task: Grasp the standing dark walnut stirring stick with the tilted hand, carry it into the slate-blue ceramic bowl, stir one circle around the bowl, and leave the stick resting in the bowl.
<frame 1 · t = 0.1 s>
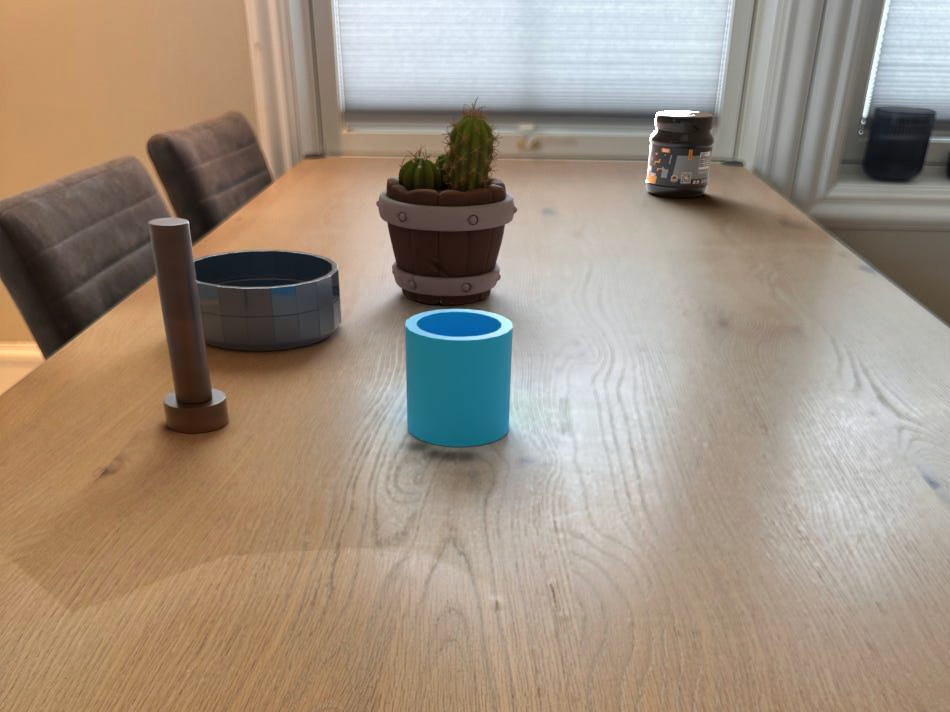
flowerpot: (446, 296, 111), on the table
stick: (198, 421, 78), on the table
bowl: (265, 329, 98), on the table
supplement container: (675, 194, 167), on the table
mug: (455, 420, 80), on the table
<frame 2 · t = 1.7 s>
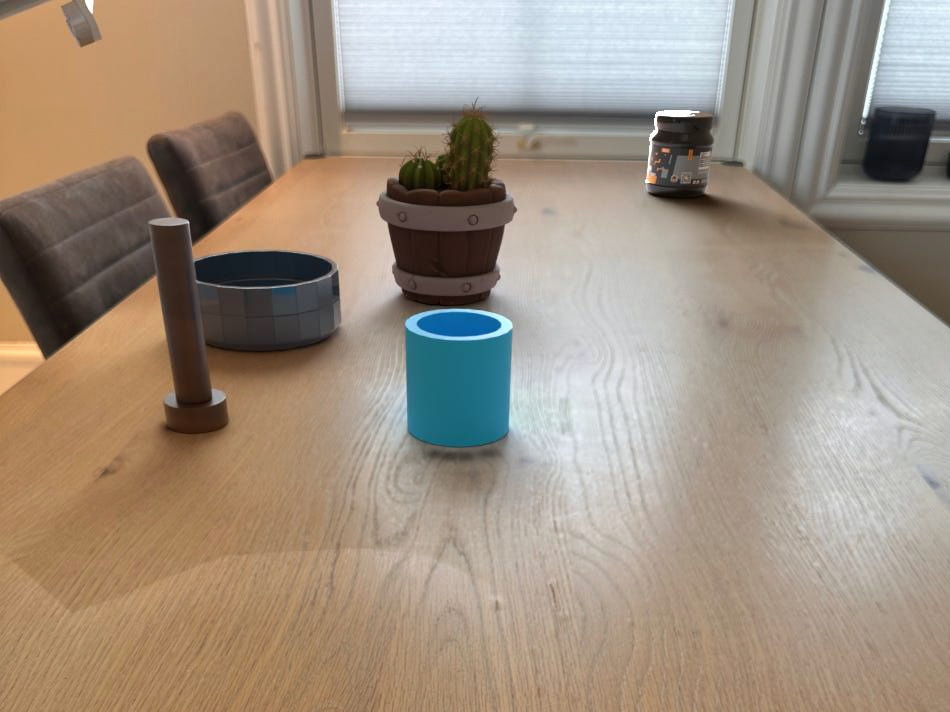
hand: (18, 64, 60), 25 cm above the table, tool tilted 50°, fingers open, 8 cm apart
nothing on the table moved.
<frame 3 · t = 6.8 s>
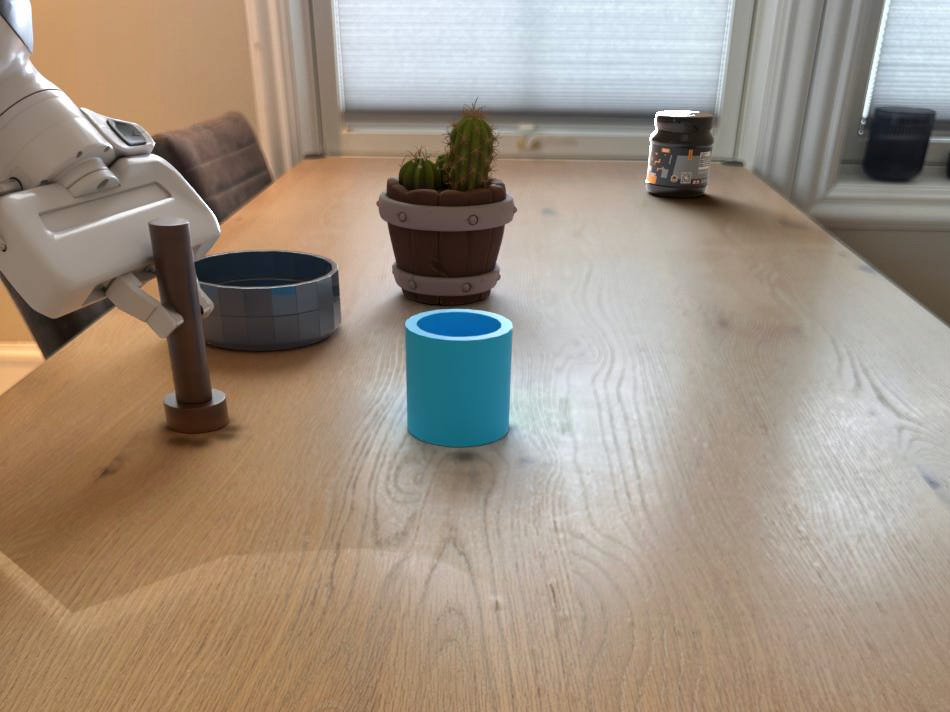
hand: (190, 323, 73), 8 cm above the table, tool tilted 45°, fingers closed on stick, 3 cm apart
stick: (198, 421, 78), on the table, touching gripper
everything else where it was.
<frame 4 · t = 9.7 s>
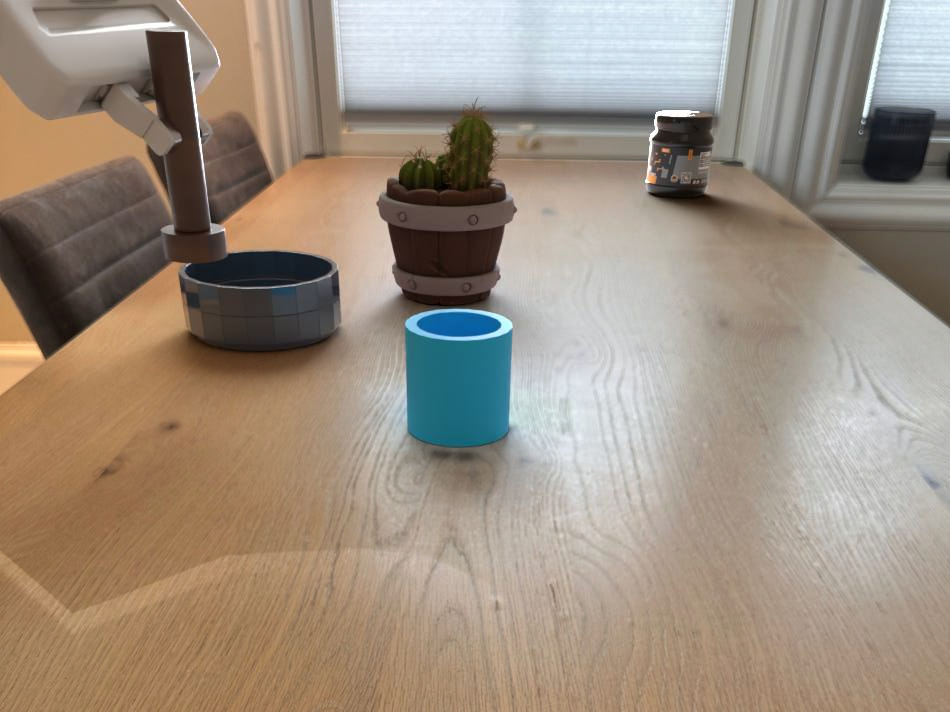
hand: (188, 144, 72), 19 cm above the table, tool tilted 45°, fingers closed on stick, 3 cm apart
stick: (196, 255, 76), point 11 cm above the table, touching gripper
everything else where it was.
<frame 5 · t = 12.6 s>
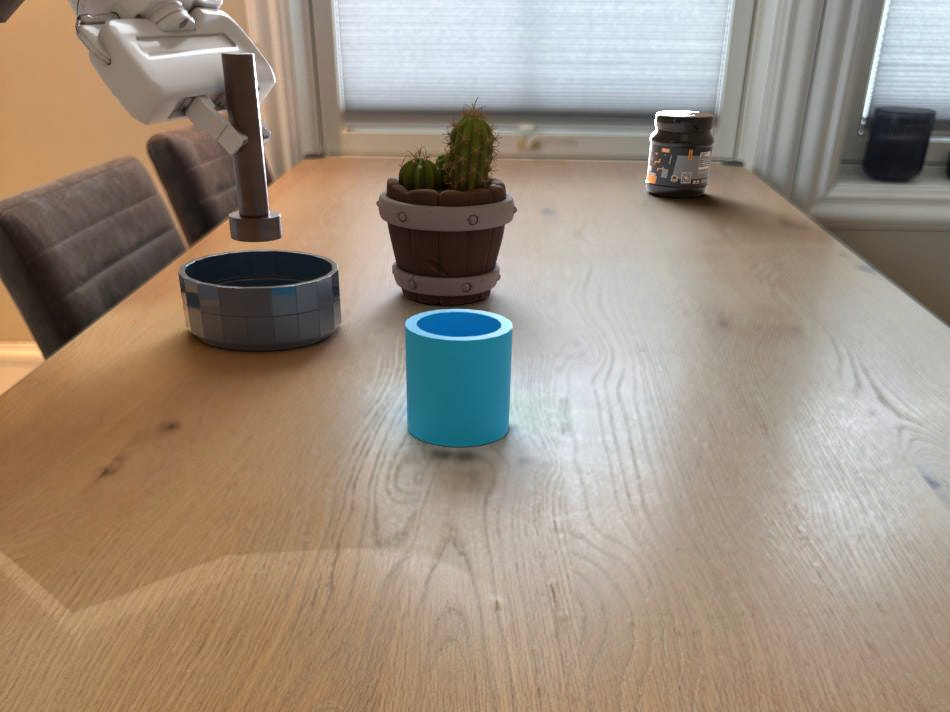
hand: (253, 145, 88), 17 cm above the table, tool tilted 45°, fingers closed on stick, 3 cm apart
stick: (256, 237, 93), point 9 cm above the table, touching gripper
everything else where it was.
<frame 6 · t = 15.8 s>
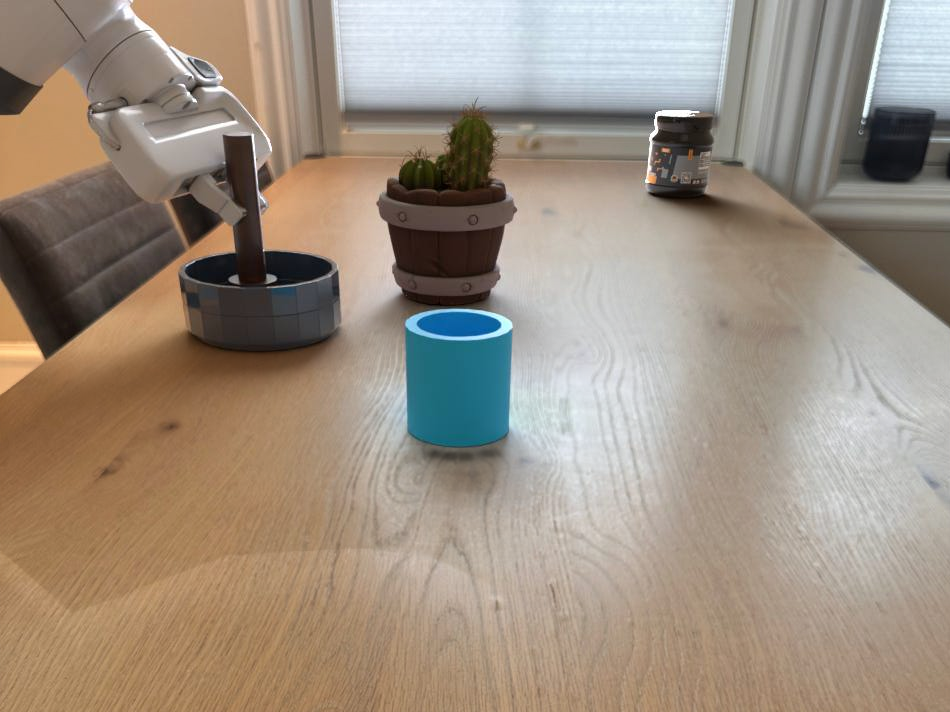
hand: (251, 216, 94), 10 cm above the table, tool tilted 45°, fingers closed on stick, 3 cm apart
stick: (254, 299, 99), point 2 cm above the table, touching gripper
everything else where it was.
when the fingers open (9 cm above the table, at t = 18.3 s): stick stays where it is, resting on bowl.
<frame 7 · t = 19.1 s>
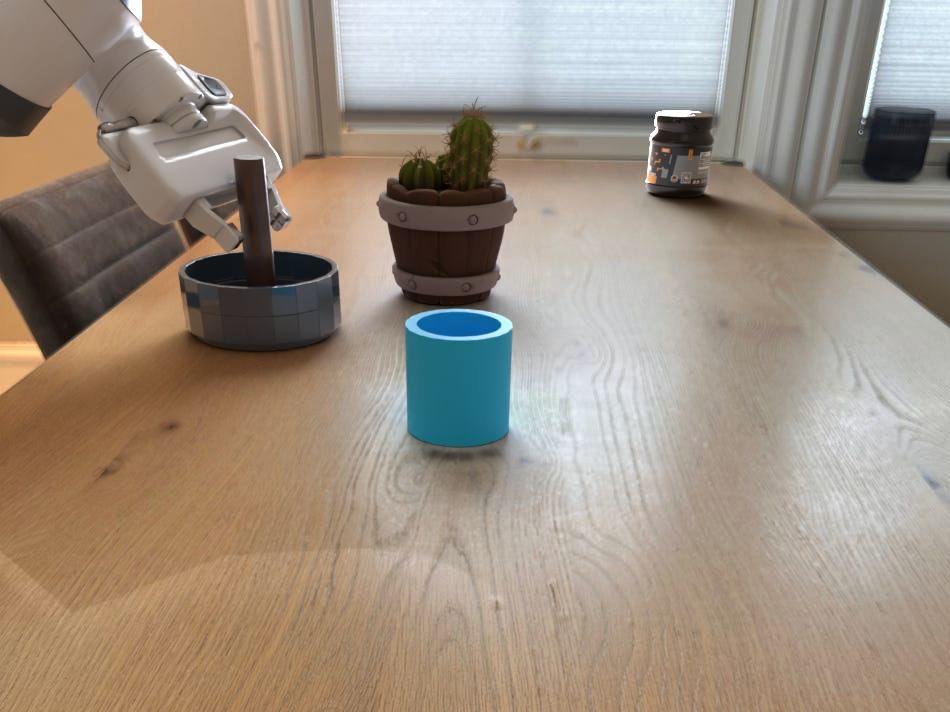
hand: (262, 235, 93), 9 cm above the table, tool tilted 45°, fingers open, 8 cm apart
stick: (265, 322, 98), point 1 cm above the table, touching bowl
everything else where it was.
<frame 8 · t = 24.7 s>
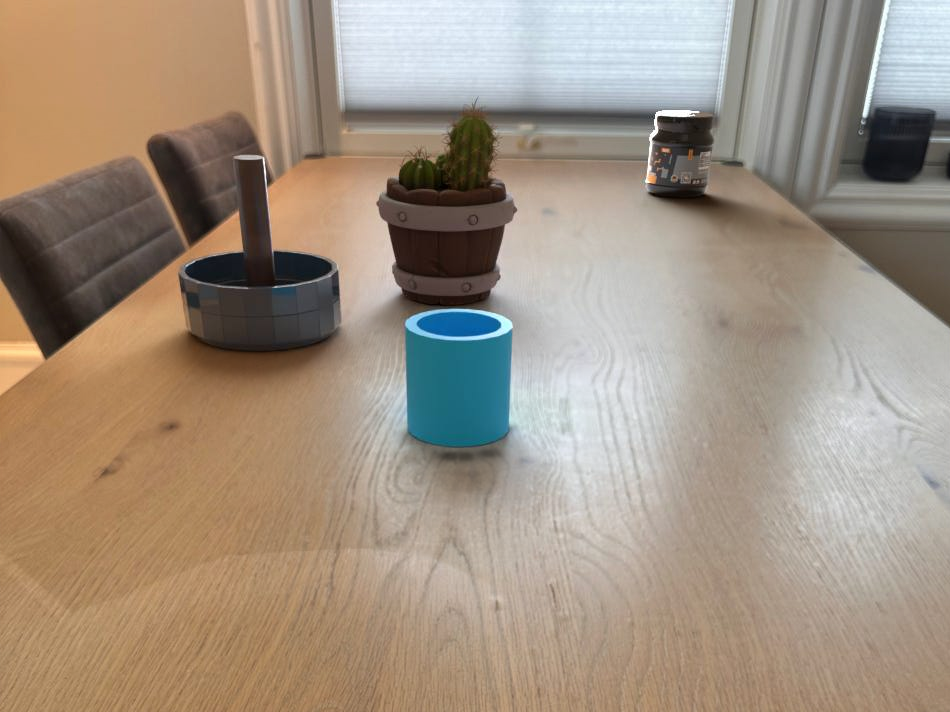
nothing on the table moved.
at the end: stick inside the target area in the bowl (0.2 cm from its centre), point 0.8 cm above the bowl's base; stick moved 24.5 cm from its start; the gripper is holding nothing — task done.
